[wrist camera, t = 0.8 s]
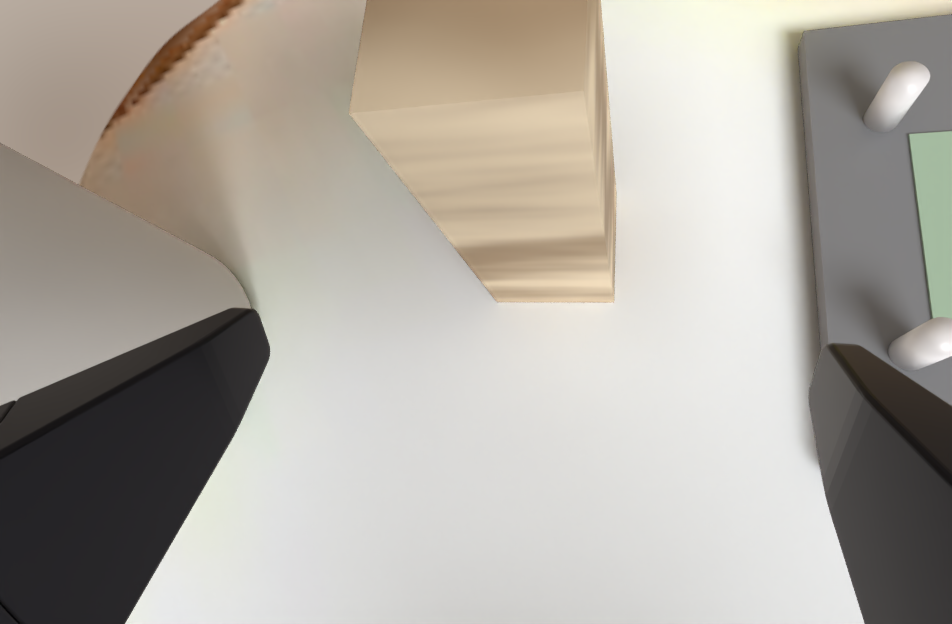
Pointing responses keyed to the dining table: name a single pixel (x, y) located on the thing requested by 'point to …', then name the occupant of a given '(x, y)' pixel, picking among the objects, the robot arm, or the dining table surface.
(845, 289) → the plate
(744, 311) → the dining table surface
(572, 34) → the maple block
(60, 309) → the cylinder vase
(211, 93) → the dining table surface
